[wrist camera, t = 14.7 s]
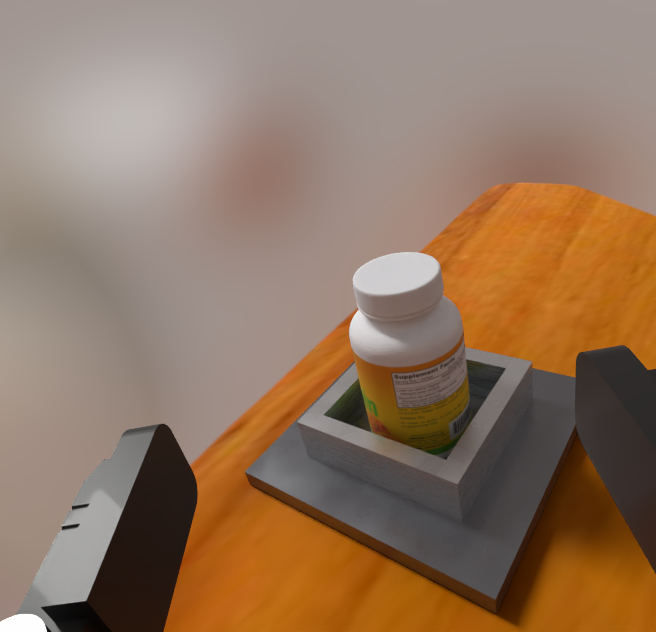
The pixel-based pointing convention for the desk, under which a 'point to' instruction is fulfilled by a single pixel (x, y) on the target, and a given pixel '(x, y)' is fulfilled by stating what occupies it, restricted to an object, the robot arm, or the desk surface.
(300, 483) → the socket plate
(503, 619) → the desk surface
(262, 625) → the desk surface
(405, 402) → the supplement bottle
